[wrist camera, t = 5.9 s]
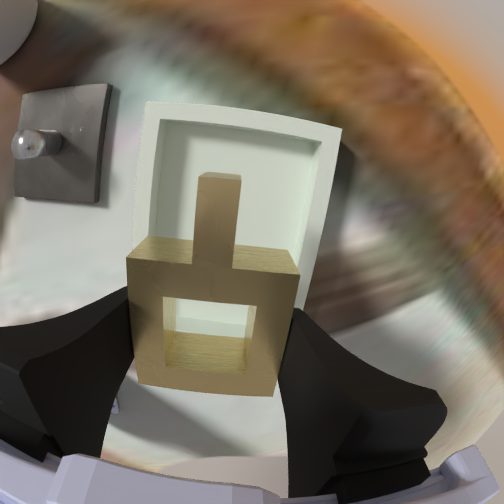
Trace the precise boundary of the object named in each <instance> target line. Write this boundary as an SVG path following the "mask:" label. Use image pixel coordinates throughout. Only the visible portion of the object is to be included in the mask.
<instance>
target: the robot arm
mask: <svg viewBox="0 0 504 504" xmlns="http://www.w3.org/2000/svg"><path fill="white" fill-rule="evenodd" d="M133 359H134V349H133V341H132V333H131V323H130V313H129V301H128V286H125V287H123V288H121V289H119V290H117V291H115V292H113V293H111V294H109V295H107V296H105V297H103V298H101V299H99V300H97V301H95V302H93V303H91V304H89V305H86V306H84V307H82V308H80V309H78V310H75V311H73V312H70V313H67V314H65V315H62V316H59V317H55V318H52V319H48V320H44V321H40V322H35V323H31V324H25V325H18V326H8V327H0V504H484V503H485V502H486V501H488V500H489V499H490V498H491V497H493V496H494V495H495V494H497V493H498V492H499V491H500V487H499V485H498V483H497V482H496V480H495V478H494V476H493V474H492V473H491V471H490V469H489V467H488V466H487V464H486V462H485V460H484V458H483V457H482V456H481V454H480V452H479V450H478V448H477V447H476V445H471V446H469V447H467V448H464V449H462V450H460V451H457V452H455V453H453V454H452V455H451V456H449V457H448V458H447V459H446V460H445V461H444V462H443V463H442V464H441V465H440V467H438V468H435V469H432V470H430V471H429V469H428V467H427V465H426V463H425V461H424V459H423V458H425V457H426V456H427V451H426V449H425V447H424V446H425V445H426V444H427V443H428V442H429V440H430V439H431V438H432V437H433V436H434V435H435V433H436V432H437V431H438V430H439V428H440V427H441V426H442V424H443V423H444V421H445V418H446V416H447V407H446V406H445V404H444V403H443V401H442V399H441V398H440V396H439V395H438V393H437V392H436V390H433V389H429V388H426V387H422V386H418V385H415V384H412V383H409V382H406V381H403V380H401V379H398V378H396V377H393V376H391V375H389V374H387V373H384V372H382V371H380V370H379V369H377V368H375V367H373V366H371V365H369V364H367V363H366V362H364V361H362V360H361V359H359V358H358V357H356V356H355V355H353V354H352V353H350V352H349V351H347V350H346V349H345V348H343V347H342V346H341V345H340V344H338V343H337V342H336V341H335V340H334V339H332V338H331V337H330V336H329V335H328V334H327V333H326V332H324V331H323V330H322V329H321V328H320V327H319V326H318V325H317V324H316V323H315V322H314V321H313V320H312V319H311V318H310V317H309V316H308V315H307V314H306V313H304V312H303V311H302V310H301V309H300V308H294V309H293V314H292V318H291V323H290V327H289V332H288V336H287V340H286V345H285V349H284V353H283V357H282V362H281V366H280V370H279V374H278V384H279V388H280V393H281V398H282V403H283V408H284V413H285V419H286V431H287V447H288V476H289V477H288V478H289V485H288V490H289V491H288V498H284V499H280V498H279V496H278V495H276V494H274V493H272V492H270V491H267V490H264V489H262V488H260V487H256V486H248V485H240V484H234V483H223V482H211V481H203V480H195V479H187V478H180V477H175V476H169V475H163V474H159V473H154V472H149V471H145V470H141V469H136V468H132V467H129V466H125V465H121V464H118V463H114V462H111V461H108V460H104V459H101V458H100V455H101V450H102V446H103V441H104V436H105V432H106V428H107V424H108V420H109V417H110V413H113V414H118V413H119V407H118V403H117V399H116V395H117V392H118V390H119V388H120V385H121V383H122V381H123V379H124V377H125V375H126V373H127V371H128V369H129V367H130V365H131V363H132V361H133Z"/></svg>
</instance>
